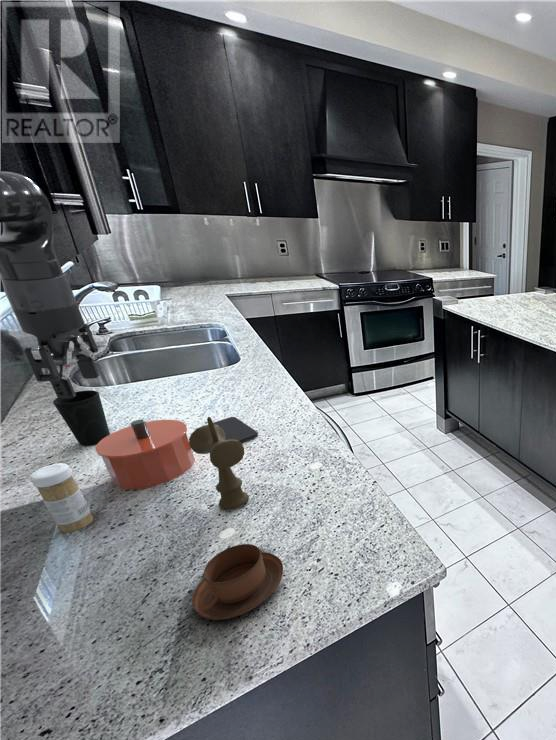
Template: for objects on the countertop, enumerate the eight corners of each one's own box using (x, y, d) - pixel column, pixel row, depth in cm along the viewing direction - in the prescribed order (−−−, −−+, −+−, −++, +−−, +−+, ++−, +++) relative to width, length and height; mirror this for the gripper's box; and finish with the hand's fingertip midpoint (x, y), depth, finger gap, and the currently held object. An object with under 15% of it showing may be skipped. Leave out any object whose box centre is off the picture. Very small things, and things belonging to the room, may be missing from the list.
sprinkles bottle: (81, 521, 76) (50, 461, 70) (104, 522, 76) (75, 463, 70) (54, 539, 72) (20, 477, 66) (79, 540, 72) (47, 479, 66)
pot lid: (193, 442, 85) (187, 423, 84) (98, 470, 76) (89, 449, 74) (181, 417, 95) (175, 399, 93) (95, 439, 85) (87, 420, 83)
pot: (202, 476, 89) (189, 440, 85) (119, 504, 80) (101, 465, 76) (190, 451, 98) (178, 416, 94) (114, 473, 89) (98, 436, 85)
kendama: (239, 486, 87) (215, 403, 78) (262, 505, 82) (238, 418, 74) (207, 501, 82) (178, 415, 74) (229, 522, 77) (200, 432, 69)
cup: (107, 429, 105) (89, 387, 100) (122, 437, 102) (105, 394, 97) (67, 443, 99) (46, 399, 94) (82, 451, 96) (61, 407, 91)
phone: (233, 415, 112) (259, 432, 105) (234, 418, 113) (260, 435, 105) (202, 426, 107) (227, 445, 99) (203, 428, 107) (228, 447, 99)
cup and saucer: (263, 624, 59) (254, 595, 56) (176, 629, 58) (162, 599, 55) (297, 559, 70) (290, 531, 67) (224, 561, 69) (214, 534, 66)
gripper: (40, 292, 73) (74, 373, 80) (-17, 315, 62) (29, 407, 69) (94, 292, 76) (122, 370, 83) (48, 314, 64) (86, 403, 71)
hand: (80, 387), depth 76 cm, fingers open, 8 cm apart
